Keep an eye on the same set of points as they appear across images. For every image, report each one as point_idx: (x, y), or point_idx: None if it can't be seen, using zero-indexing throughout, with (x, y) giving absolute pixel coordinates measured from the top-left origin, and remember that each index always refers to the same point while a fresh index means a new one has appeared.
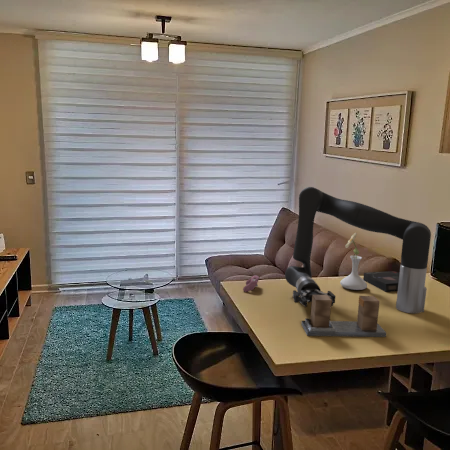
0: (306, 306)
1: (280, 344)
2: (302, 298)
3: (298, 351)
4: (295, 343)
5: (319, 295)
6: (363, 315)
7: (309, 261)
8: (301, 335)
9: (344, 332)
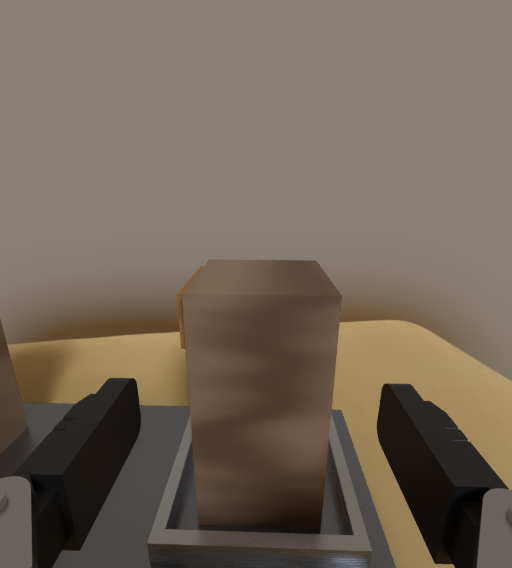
0: (381, 433)
1: (439, 374)
2: (484, 485)
3: (366, 346)
4: (384, 379)
5: (269, 288)
6: (5, 350)
7: None
8: (369, 434)
9: (149, 407)
